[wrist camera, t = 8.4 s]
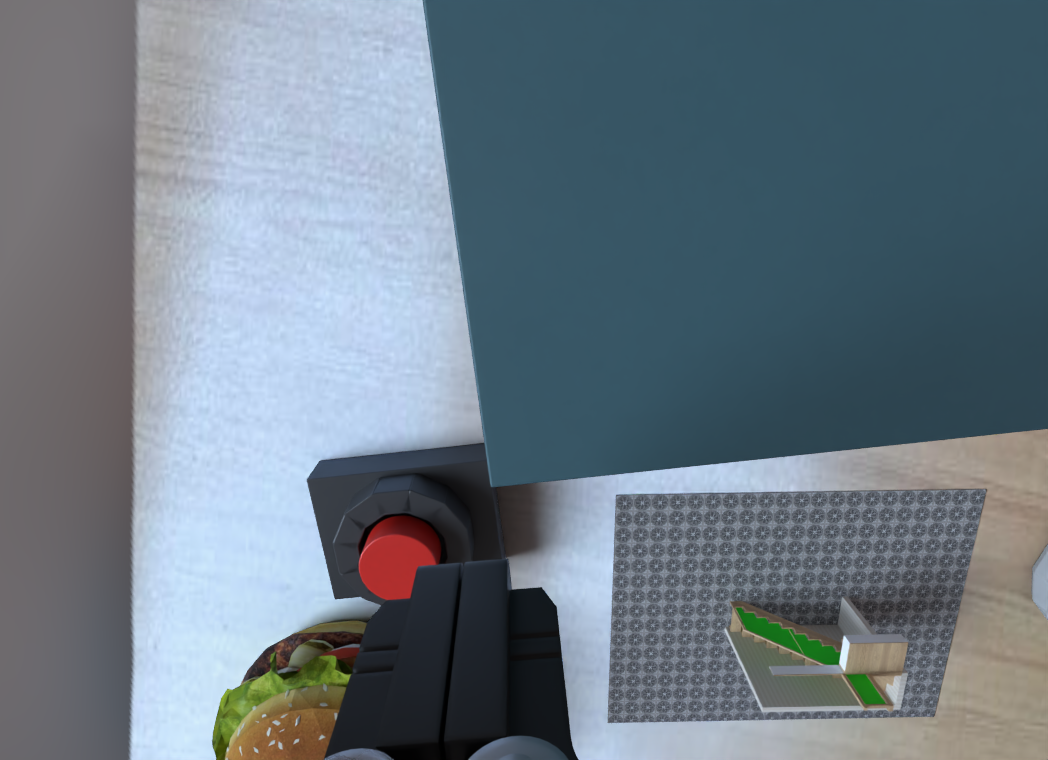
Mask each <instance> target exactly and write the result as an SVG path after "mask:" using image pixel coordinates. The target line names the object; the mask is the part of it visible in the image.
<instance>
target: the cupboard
mask: <svg viewBox="0 0 1048 760" xmlns="http://www.w3.org/2000/svg"><path fill="white" fill-rule="evenodd" d="M423 6H424V13H425V21H426V28H427V35H428V42H429V49H430V56H431V63H432V71H433V78H434V85H435V92H436V99H437V106H438V114H439V121H440V128H441V135H442V142H443V149H444V156H445V164H446V171H447V178H448V185H449V192H450V199H451V207H452V214H453V221H454V228H455V235H456V242H457V250H458V257H459V264H460V271H461V278H462V285H463V292H464V300H465V307H466V314H467V321H468V328H469V335H470V343H471V350H472V357H473V364H474V371H475V378H476V385H477V393H478V400H479V407H480V414H481V421H482V428H483V436H484V443H485V450H486V457H487V464H488V471H489V479H490V485H491V487H501V486H511V485H520V484H529V483H539V482H548V481H558V480H567V479H577V478H586V477H596V476H605V475H615V474H624V473H634V472H643V471H653V470H662V469H671V468H681V467H690V466H700V465H709V464H719V463H728V462H738V461H747V460H757V459H766V458H776V457H785V456H795V455H804V454H813V453H823V452H832V451H842V450H851V449H861V448H870V447H880V446H889V445H899V444H908V443H918V442H927V441H937V440H946V439H955V438H965V437H974V436H984V435H993V434H1003V433H1012V432H1022V431H1031V430H1041V429H1048V0H423Z"/></svg>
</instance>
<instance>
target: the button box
mask: <svg viewBox="0 0 1048 760" xmlns="http://www.w3.org/2000/svg"><path fill="white" fill-rule="evenodd" d="M307 483H308V487H309V492H310V496H311V500H312V504H313V509H314V513H315V517H316V521H317V526H318V530H319V534H320V538H321V542H322V547H323V551H324V555H325V559H326V564H327V568H328V572H329V576H330V581H331V585H332V589H333V593H334V597H335V599H343V598H353V597H362V598H363V599H365V600H368V601H371V602H374V603H377V604H380V605H383V604H384V603H385V601H386V599H383V598H381V597H379V596H377V595H375V594H374V593H373V592H371V591H370V590H369V589H368V588H367V587H366V585H365V584H364V582H363V581H362V578H361V576H360V573H359V559H360V556H361V553H362V551H363V548H364V546H365V544H366V541H367V539H368V536H369V534H370V532H371V531H372V529H373V528H374V527H375V526H376V525H377V524H378V523H380V522H381V521H383V520H385V519H387V518H390V517H394V516H411V517H415V518H418V519H420V520H422V521H424V522H425V523H427V524H428V525H429V526H430V527H431V528H432V529H433V530H434V531H435V532H436V534H437V536H438V538H439V540H440V544H441V556H440V561H439V564H451V563H462V564H463V566H464V564H465V562H473V561H485V560H498V559H506V556H505V548H504V541H503V534H502V526H501V519H500V512H499V505H498V497H497V490H496V487H491V485H490V479H489V471H488V464H487V457H486V450H485V443H484V444H474V445H465V446H456V447H446V448H437V449H428V450H418V451H409V452H400V453H390V454H381V455H372V456H362V457H353V458H344V459H334V460H325V461H319V463H318V464H317V465H316V467H315V468H314V470H313V471H312V473H311V474H310V476H309V477H308V479H307Z"/></svg>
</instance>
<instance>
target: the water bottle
mask: <svg viewBox="0 0 1048 760" xmlns="http://www.w3.org/2000/svg"><path fill="white" fill-rule="evenodd" d="M1032 600H1033V601H1034V603H1035V604H1036V605H1037V607H1038V608H1039V609H1040V611H1041V612H1042V613H1043V615H1044V616H1045V617H1046V619H1047V620H1048V544H1047V546H1046V548H1045V549H1044V551H1043V552H1042V554H1041V555H1040V557H1039V558H1038V560H1037V561H1036V563H1035V564H1034V566H1033V569H1032Z"/></svg>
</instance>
